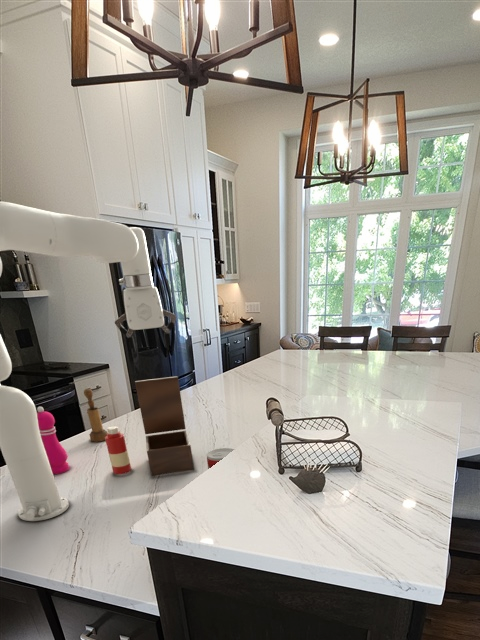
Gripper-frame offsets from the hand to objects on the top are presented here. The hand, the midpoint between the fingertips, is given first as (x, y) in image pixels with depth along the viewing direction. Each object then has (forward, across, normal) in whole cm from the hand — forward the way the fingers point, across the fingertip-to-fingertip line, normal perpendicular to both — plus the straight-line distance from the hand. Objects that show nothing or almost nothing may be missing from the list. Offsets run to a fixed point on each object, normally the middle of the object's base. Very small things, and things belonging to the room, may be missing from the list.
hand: (151, 349), depth 139 cm
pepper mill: (+32, -35, 0) cm, 48 cm away
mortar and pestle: (+32, -24, +28) cm, 49 cm away
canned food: (+32, +13, -36) cm, 50 cm away
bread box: (+32, 0, -11) cm, 34 cm away
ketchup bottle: (+32, -15, -11) cm, 37 cm away
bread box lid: (+15, 0, -4) cm, 16 cm away
